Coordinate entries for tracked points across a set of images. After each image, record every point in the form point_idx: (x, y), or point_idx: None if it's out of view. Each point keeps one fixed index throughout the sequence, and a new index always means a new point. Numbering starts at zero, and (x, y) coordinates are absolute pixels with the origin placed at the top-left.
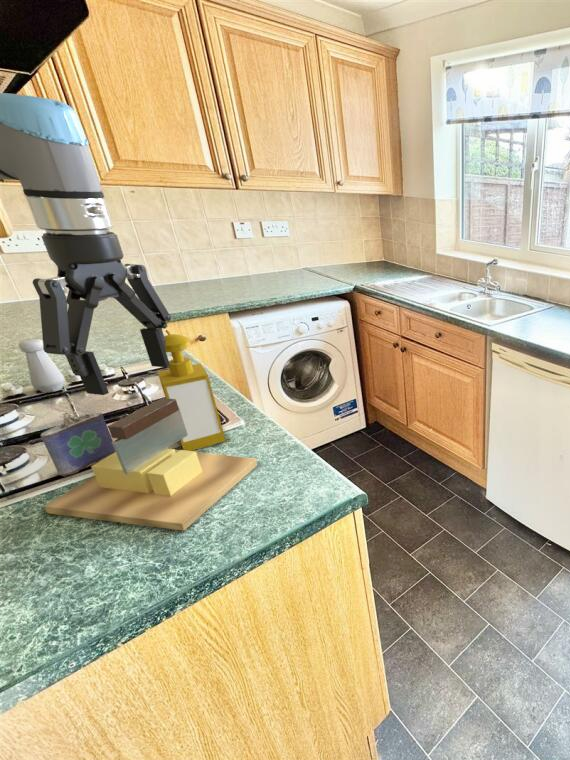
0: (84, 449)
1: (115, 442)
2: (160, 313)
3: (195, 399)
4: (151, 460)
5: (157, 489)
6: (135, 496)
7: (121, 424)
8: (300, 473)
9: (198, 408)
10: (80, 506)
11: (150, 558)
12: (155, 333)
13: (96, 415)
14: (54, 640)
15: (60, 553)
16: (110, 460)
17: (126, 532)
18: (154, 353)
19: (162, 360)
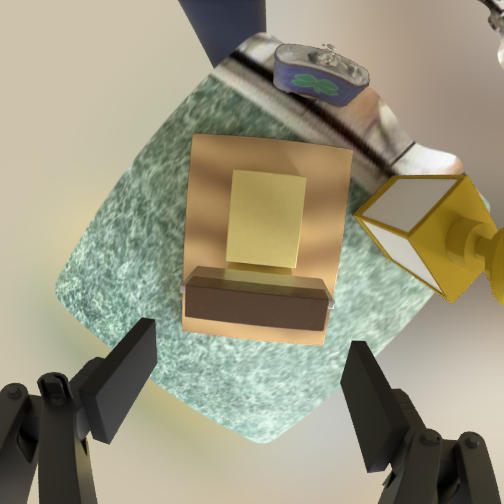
0: (311, 86)
1: (180, 292)
2: (433, 502)
3: (412, 262)
4: (258, 254)
5: None
6: (223, 238)
7: (195, 306)
8: (301, 394)
9: (403, 257)
10: (196, 181)
11: (145, 315)
12: (365, 464)
13: (357, 82)
14: (71, 298)
15: (137, 217)
16: (252, 187)
17: (173, 263)
18: (356, 388)
19: (345, 391)
